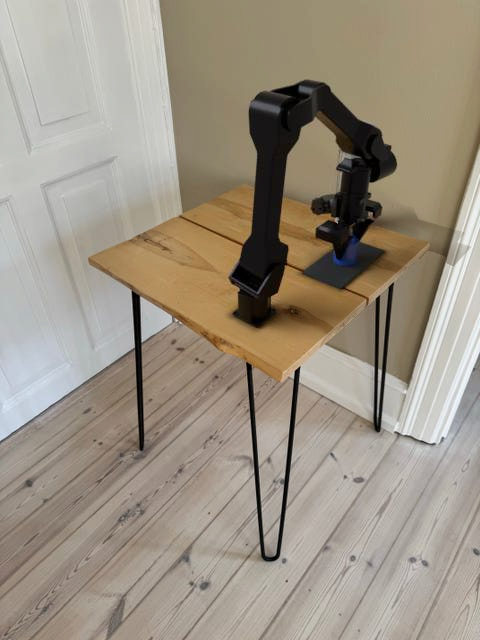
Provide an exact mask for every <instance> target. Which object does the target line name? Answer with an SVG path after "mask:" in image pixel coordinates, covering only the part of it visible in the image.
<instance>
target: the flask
mask: <svg viewBox="0 0 480 640" xmlns="http://www.w3.org/2000/svg"><path fill="white" fill-rule="evenodd" d="M352 230H353V229H352V228H351V227H350V236H353V239H352V241H351V243H350V245H349V247H348V248H347V250H346V252H345V254H344V256H343V258H342V260H338V259H336V255H335V251H334V254H333V261H334V263H336V264H337V265H340V266H351V265H354V264H355V263H356V258H357V252H358V245H359V239H358V238H357V237H355V236H354V235H353V231H352Z"/></svg>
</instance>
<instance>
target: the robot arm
mask: <svg viewBox="0 0 480 640" xmlns="http://www.w3.org/2000/svg"><path fill="white" fill-rule="evenodd" d="M315 119H317V120H318V121H319V122H320V123H321V124H323V125H324V126H325V127H326V128H327V129H328V130H329V131H330V132H331V133H333V135H334V136H335V144H336V145H337V147H338V146H339V148H340V149H341V153H342V152H345V153H348V154H351V155H355V156H358V157H361V158H352V159H348V158H344V160H343V161H342V162H341V161H340V162H339V164H338V163H337V167H336V166H335V168H336V171H337V172H340V171H341V172H342V177H341V185H340V191H339V192H338V191H337V193H336V192H335V193H331V194H330V193H329V194H323V195H321V196H319V197H315V198H313V199H311V204H310V210H311V213H312V214H313V215H316V216H321V215H330V217H331V218H333V219H335V218H336V217H337V218H338V219H339V220H338V221H336V222H335V220H330V219H327V220H326V221H324V222H323V223H320V224H319V225H318V226H317V227H316V228H315V229H314V230H315V233H314V237H315V239H317V240H320V241H322V242H323V241H324V242H327V243H328V244H332V249H334V251H335V255H336V259H338V260H342V258H343V256H344V254H345V252H346V250H347V248H348V247H349V245H350V243H351V241H352V239H353V236H350V227H351V228H352V229H353V230H352V231H353V235H354V236H355V237H357V238H358V239H359V242H361V240H362V239H363V238H364V236H365V235H366V233H367V231H369V229H370V228H371V226H372V225H373V224H374V222H375V220H376V219H378V218H379V217H380V216H382V213H383V206H382V204H381V203H380V202H379V201H376V200H373V199H371V198H372V192H370V191H369V188H370V184H374V183H376V182H379V181H381V180H382V179H385V178H388V177H389V176H391V175H393V174H394V173H395V172H396V170H397V168H398V161H397V157H396V155H395V153H394V152H393V151H392V148H393V146H392V145H391V144H388V143H385V142H384V139H383V132H382V130H381V128H379V127H377V126H376V125H375V126H373V125H371V124H369V123H366V122H364V121H365V120H363V121H361V119H359V118H358V117H357V116H356V114H354V113H353V112H352V111H351V110H350V108H349V107H347V106H346V105H345V104H344V102H342V100H341V99H340V98H338V96H337V95H336V94H335V93H334V92H333V91H332V89H331V86H330V85H328V83H326V82H324V81H319V80H314V79H307V78H306V79H303V80H299V81H298V82H296V83H294V84H289V85H286V86H282V87H278V88H274V89H271V90H262V91H260V92H258V93H257V94H256V95H255V96H254V98H253V99H252V100H251V101H250V102H249V107H248V128H249V136H250V138H251V141H252V143H253V146H254V148H255V150H256V164H255V176H254V190H253V203H252V217H251V230H250V235H249V236H248V237H247V239H246V240H245V241H244V242H243V244H242V246H241V251H240V256H239V258H238V260H237V261H236V263H235V265H234V266H233V268H232V269H231V272H230V273H229V275H228V280H229V283H230V284H231V285H232V286H235V287H236V288H238V289H239V290H238V291H237V309H235V310H234V311H232V313H231V314H232V317H234V318H236V319H238V320H241V321H243V322H244V323H246V324H248V325H250V326H252V327H254V328H259V327H260V326H262V325H263V324H264V323H265V322H267V321H268V320H269V319H270V318H271V317H273V316H274V315H275V314H277V309H276V308H274V307H272V297H273V296H275V295H277V294H278V293H279V291H280V288H281V285H282V281H283V278H284V274H285V270H286V267H287V266H288V256H289V251H290V248H289V245H288V244H287V243H285V242H282V241H281V239H280V227H281V219H282V218H281V217H282V208H283V199H284V189H285V181H286V171H287V164H288V156H289V154H290V152H291V151H292V150H293V148H294V147H295V145H296V144H297V142H299V140H300V137H301V132H302V128H304V127H305V126H307V125H309V124H310V123H312V122H313V121H314V120H315ZM369 213H371V214H372V215H371V217H372V218H373V219H371V218H370V216H369Z"/></svg>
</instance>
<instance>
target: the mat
mask: <svg viewBox="0 0 480 640" xmlns="http://www.w3.org/2000/svg"><path fill="white" fill-rule="evenodd" d="M385 251H386V250H385V249H383V248H379V247H376V246H374V245H370V244H367V243H366V242H365V243H364V242H362V241H360V242H359V245H358V252H357V258H356V263H355V264H354V265H351V266H340V265H337V264H336V263H334V261H333V254H334V248H332V249H331V250H329V251H328V252H326V253H325V254H324V255H323V256H322V257H320V258H318V260H316V261H314V262H313V263H312V264H310V265H309V266H308V267H307V268H306V269H304V270H303V271H301V274H302V275H303V276H306V277H309V278H311V279H314V280H315V281H319V282H321V283H323V284H326V285H329V286H330V287H332V288H333V287H334V288H336V289H338V290H342V289H343V288H345V287H346V286H347V285H348V284H349V283H350V282H352V281H353V280H354V279H355V278H356V277H358V276H359V275H360V274H361V273H362V272H363V271H364V270H366V269H367V268H368V267H369V266H371V264H373V263H374V262H375V261H376V260H377V259H378V258H380V257H381V256H382V255H383V254H384V253H385Z"/></svg>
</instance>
